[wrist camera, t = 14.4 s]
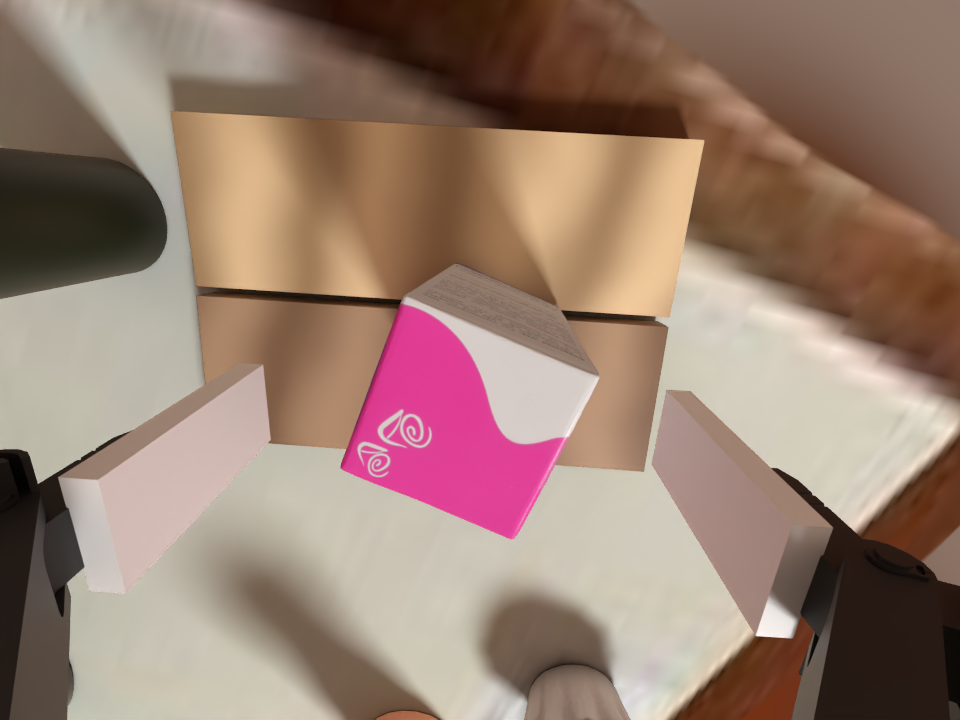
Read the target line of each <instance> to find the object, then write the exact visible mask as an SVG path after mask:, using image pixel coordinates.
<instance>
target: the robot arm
mask: <svg viewBox="0 0 960 720" xmlns="http://www.w3.org/2000/svg"><path fill="white" fill-rule="evenodd" d="M270 440H271V438H270V428H269V418H268V408H267V398H266V388H265V378H264V368H263V364H247V363H239V364H237V365H236V366H234V367H233V368H231V369H230V370H228V371H226V372H225V373H223V374H222V375H220V376H218V377H217V378H215V379H214V380H212V381H210V382H209V383H207V384H206V385H204V386H203V387H201V388H199V389H198V390H196V391H195V392H193V393H191V394H190V395H188V396H187V397H185V398H183V399H182V400H180V401H179V402H177V403H175V404H174V405H172V406H171V407H169V408H168V409H166V410H164V411H163V412H161V413H160V414H158V415H156V416H155V417H153V418H152V419H150V420H148V421H147V422H145V423H144V424H142V425H141V426H139V427H137V428H136V429H134V430H132V431H130V432H127V433H124V434H122V435H119V436H117V437H114V438H112V439H111V440H109V441H107V442H106V443H104V444H103V445H101V446H99V447H98V448H96V450H95V451H91V452H90V453H88V454H86V455H85V456H83V457H81V460H77V461H75V462H73V463H72V464H70V465H68V466H67V467H65V468H64V469H62V470H60V471H59V472H57V473H56V474H54V475H52V476H51V477H49V478H47V479H46V480H44V481H43V482H41V483H39V484H38V483H37V480H36V476H35V473H34V469H33V466H32V463H31V459H30V456H29V454H28V452H25V451H22V450H19V449H4V450H0V720H67V706H68V705H69V703H70V701H71V698H72V695H73V689H74V682H73V675H72V671H71V668H70V666H69V639H70V607H71V596H70V592H69V589H68V585H67V582H68V581H69V580H70V579H71V578H73V577H74V576H75V575H76V574H77V573H78V572H79V571H80V570H82V569H83V570H84V574H85V577H86V581H87V585H88V588H89V591H93V592H108V593H123V594H126V593H127V592H128V591H129V590H130V589H131V588H132V586H133V585H134V584H135V583H136V582H137V581H138V580H139V579H140V578H141V577H142V576H143V575H144V574H145V573H146V572H147V571H148V569H149V568H150V567H151V566H152V565H153V564H154V563H155V562H156V561H157V560H158V559H159V558H160V557H161V556H162V555H163V554H164V553H165V551H166V550H167V549H168V548H169V547H170V546H171V545H172V544H173V543H174V542H175V541H176V540H177V539H178V538H179V537H180V536H181V534H182V533H183V532H184V531H185V530H186V529H187V528H188V527H189V526H190V525H191V524H192V523H193V522H194V521H195V520H196V519H197V518H198V516H199V515H200V514H201V513H202V512H203V511H204V510H205V509H206V508H207V507H208V506H209V505H210V504H211V503H212V502H213V501H214V499H215V498H216V497H217V496H218V495H219V494H220V493H221V492H222V491H223V490H224V489H225V488H226V487H227V486H228V485H229V484H230V482H231V481H232V480H233V479H234V478H235V477H236V476H237V475H238V474H239V473H240V472H241V471H242V470H243V469H244V468H245V467H246V466H247V464H248V463H249V462H250V461H251V460H252V459H253V458H254V457H255V456H256V455H257V454H258V453H259V452H260V451H261V450H262V449H263V447H264V446H265V445H266V444H267V443H268V442H269V441H270ZM652 466H653V467H654V469H655V470H656V472H657V474H658V475H659V477H660V479H661V480H662V482H663V484H664V485H665V487H666V489H667V490H668V492H669V494H670V495H671V497H672V499H673V500H674V502H675V503H676V505H677V507H678V508H679V510H680V512H681V513H682V515H683V517H684V518H685V520H686V522H687V523H688V525H689V527H690V528H691V530H692V532H693V533H694V535H695V536H696V538H697V540H698V541H699V543H700V545H701V546H702V548H703V550H704V551H705V553H706V555H707V556H708V558H709V560H710V561H711V563H712V565H713V566H714V568H715V569H716V571H717V573H718V574H719V576H720V578H721V579H722V581H723V583H724V584H725V586H726V588H727V589H728V591H729V593H730V594H731V596H732V598H733V599H734V601H735V602H736V604H737V606H738V607H739V609H740V611H741V612H742V614H743V616H744V617H745V619H746V621H747V622H748V624H749V626H750V627H751V629H752V630H753V632H754V634H755V635H756V636H766V637H781V638H793V637H794V634H795V631H796V629H797V626H798V623H799V620H800V618H801V615H802V616H803V617H804V619H805V620H806V621H807V623H808V624H809V625H810V627H811V628H812V629H813V631H814V635H813V637H812V640H811V642H810V645H809V648H808V650H807V653H806V655H805V658H804V661H803V663H802V666H801V668H800V671H799V674H800V675H802V678H801V682H800V686H799V690H798V695H797V699H796V703H795V707H794V711H793V716H792V720H960V586H957V585H953V584H949V583H946V582H942V581H938V580H937V578H936V576H935V574H934V573H933V572H932V571H931V570H930V569H929V568H928V567H927V566H926V565H925V564H924V563H923V562H921V561H919V560H918V559H916V558H915V557H913V556H912V555H910V554H909V553H906V552H904V551H902V550H900V549H898V548H896V547H894V546H891V545H888V544H885V543H882V542H878V541H874V540H867V539H862V538H861V537H860V536H859V535H858V534H856V533H855V532H854V531H853V530H852V529H851V528H850V527H849V526H848V525H847V524H845V523H844V522H843V521H842V520H841V519H840V518H839V517H838V516H837V515H836V514H835V513H833V512H832V511H831V510H830V509H829V508H828V507H824V503H822V502H821V501H820V500H819V499H818V498H817V497H816V496H812V493H811V492H810V491H809V490H808V489H807V488H806V487H805V486H804V485H803V484H802V483H800V482H799V481H798V480H797V479H795V478H793V477H792V476H790V475H788V474H786V473H785V472H783V471H781V470H779V469H778V468H770V467H769V466H768V465H767V464H766V463H765V462H764V461H763V460H762V459H761V458H760V457H759V456H758V455H757V454H756V453H755V452H753V451H752V450H751V449H750V448H749V447H748V446H747V445H746V444H745V443H744V442H743V441H742V440H741V439H740V438H739V437H738V436H737V435H736V434H735V433H734V432H733V431H731V430H730V429H729V428H728V427H727V426H726V425H725V424H724V423H723V422H722V421H721V420H720V419H719V418H718V417H717V416H716V415H715V414H714V413H713V412H712V411H711V410H709V409H708V408H707V407H706V406H705V405H704V404H703V403H702V402H701V401H700V400H699V399H698V398H697V397H696V396H695V395H694V394H693V393H692V392H691V391H678V390H667V391H666V395H665V400H664V405H663V410H662V415H661V420H660V425H659V430H658V435H657V440H656V445H655V450H654V455H653V460H652Z"/></svg>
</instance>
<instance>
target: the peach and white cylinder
mask: <svg viewBox="0 0 960 720" xmlns="http://www.w3.org/2000/svg"><path fill="white" fill-rule="evenodd" d="M376 720H438V719H436V718H434V717H432V716H431V715H427V714H424V713H420V712H416V711H397V712H391V713H387V714H385V715H383V716H380V717H378V718H377V719H376Z"/></svg>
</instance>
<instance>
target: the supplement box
mask: <svg viewBox="0 0 960 720" xmlns="http://www.w3.org/2000/svg"><path fill="white" fill-rule="evenodd" d="M599 378H600V375H599V373H598V371H597V369H596V368H595V366H594V364H593V363H592V361H591V359H590V358H589V356H588V355H587V353H586V351H585V350H584V348H583V347H582V345H581V343H580V342H579V340H578V338H577V337H576V335H575V333H574V332H573V330H572V328H571V327H570V325H569V323H568V321H567V320H566V318H565V316H564V315H563V313H562V312H561V310H560V308H559V307H558V306H555V305H553V304H551V303H549V302H546V301H544V300H542V299H540V298H537V297H535V296H533V295H531V294H528V293H526V292H524V291H522V290H519V289H517V288H515V287H513V286H510V285H508V284H506V283H504V282H501V281H499V280H497V279H494V278H492V277H490V276H487V275H485V274H483V273H481V272H478V271H476V270H474V269H472V268H469V267H467V266H465V265H462V264H460V263H455V264H454V265H452V266H450V267H449V268H447V269H446V270H444V271H442V272H441V273H439V274H438V275H436V276H435V277H433V278H431V279H430V280H428V281H427V282H425V283H424V284H422V285H420V286H419V287H417V288H416V289H414V290H412V291H411V292H409V293H408V294H406V295H404V297H403V299H402V301H401V303H400V306H399V308H398V311H397V313H396V316H395V319H394V321H393V324H392V327H391V330H390V332H389V335H388V337H387V340H386V343H385V346H384V348H383V351H382V354H381V357H380V359H379V362H378V365H377V367H376V370H375V373H374V375H373V378H372V381H371V384H370V387H369V389H368V392H367V395H366V397H365V400H364V403H363V406H362V409H361V411H360V414H359V417H358V419H357V422H356V425H355V428H354V430H353V433H352V436H351V439H350V441H349V444H348V447H347V449H346V452H345V455H344V457H343V460H342V463H341V469H342V470H344V471H346V472H348V473H350V474H352V475H355V476H357V477H360V478H362V479H364V480H367V481H370V482H372V483H374V484H377V485H380V486H382V487H385V488H388V489H390V490H393V491H396V492H399V493H401V494H404V495H406V496H409V497H411V498H414V499H417V500H419V501H421V502H424V503H426V504H429V505H431V506H433V507H436V508H438V509H440V510H443V511H445V512H447V513H450V514H452V515H455V516H457V517H459V518H462V519H464V520H466V521H469V522H471V523H473V524H476V525H478V526H480V527H483V528H485V529H487V530H490V531H492V532H494V533H497V534H499V535H502V536H504V537H506V538H509V539H514V538H515V537H516V535H517V534H518V532H519V531H520V529H521V527H522V526H523V524H524V522H525V520H526V518H527V516H528V514H529V513H530V511H531V509H532V507H533V505H534V504H535V502H536V500H537V498H538V496H539V494H540V492H541V490H542V488H543V487H544V485H545V483H546V482H547V479H548V477H549V475H550V473H551V471H552V470H553V468H554V466H555V464H556V462H557V460H558V458H559V456H560V454H561V452H562V450H563V448H564V447H565V445H566V443H567V441H568V439H569V437H570V435H571V433H572V431H573V429H574V427H575V425H576V423H577V421H578V419H579V417H580V416H581V414H582V411H583V409H584V407H585V405H586V403H587V402H588V400H589V398H590V396H591V394H592V392H593V390H594V388H595V386H596V384H597V382H598V380H599Z"/></svg>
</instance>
